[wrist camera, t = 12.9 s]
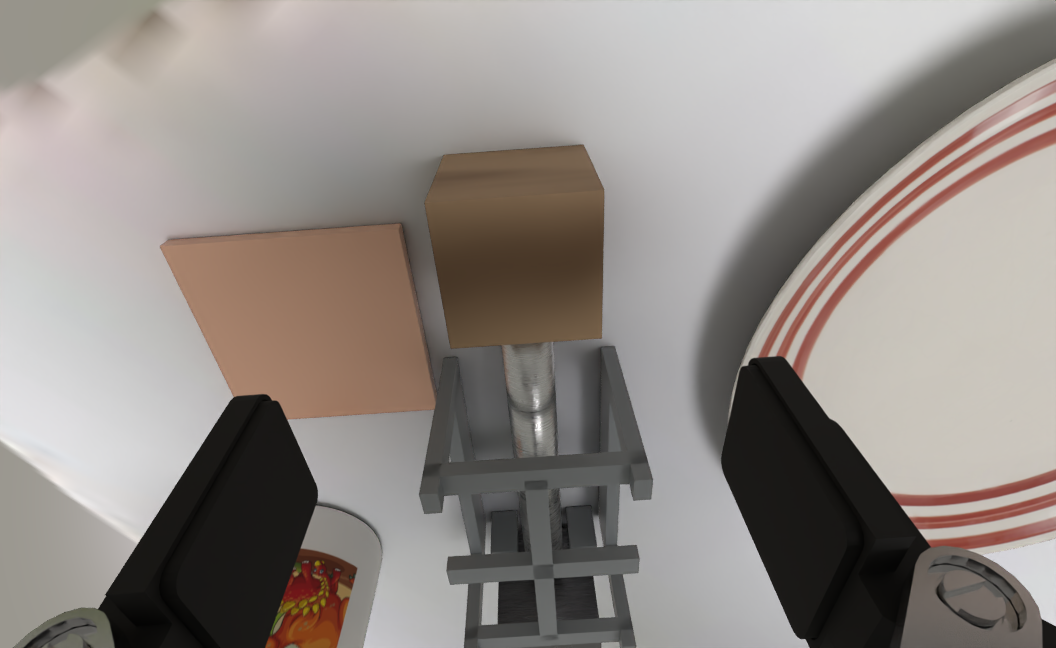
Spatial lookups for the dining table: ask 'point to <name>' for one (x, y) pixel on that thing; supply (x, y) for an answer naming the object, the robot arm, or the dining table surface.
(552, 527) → the plunger
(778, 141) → the dining table surface
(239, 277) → the coaster
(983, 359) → the dinner plate
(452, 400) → the cage
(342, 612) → the milk bottle
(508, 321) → the cube
